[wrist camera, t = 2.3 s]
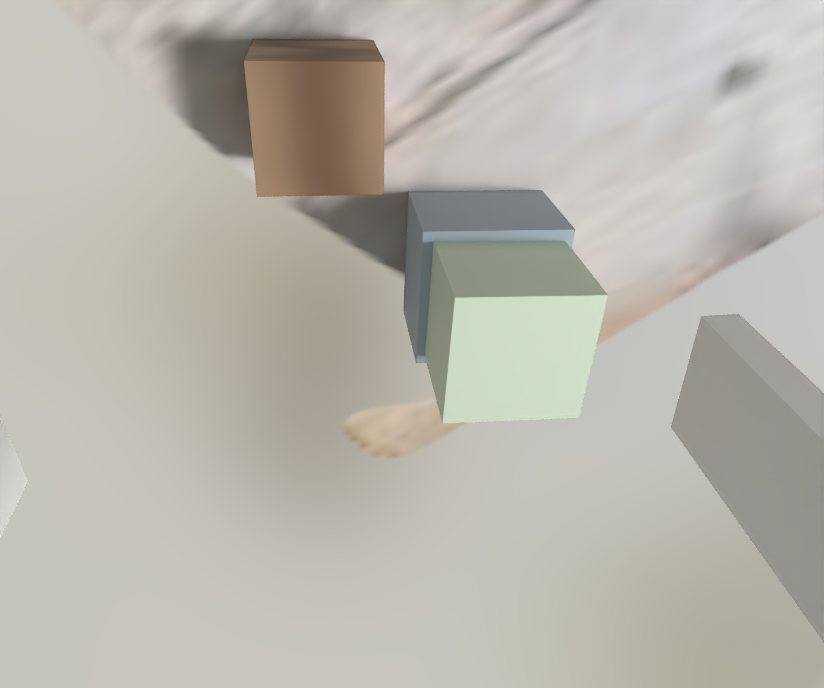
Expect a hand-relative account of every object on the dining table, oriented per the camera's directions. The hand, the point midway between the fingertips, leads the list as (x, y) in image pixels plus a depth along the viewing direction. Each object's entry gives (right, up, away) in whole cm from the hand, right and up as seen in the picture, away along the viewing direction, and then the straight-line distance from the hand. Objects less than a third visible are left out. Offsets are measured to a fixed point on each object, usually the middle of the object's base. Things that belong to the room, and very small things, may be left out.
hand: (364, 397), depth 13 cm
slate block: (+5, +7, +29) cm, 30 cm away
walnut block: (-4, +14, +23) cm, 27 cm away
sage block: (+5, +3, +24) cm, 25 cm away
